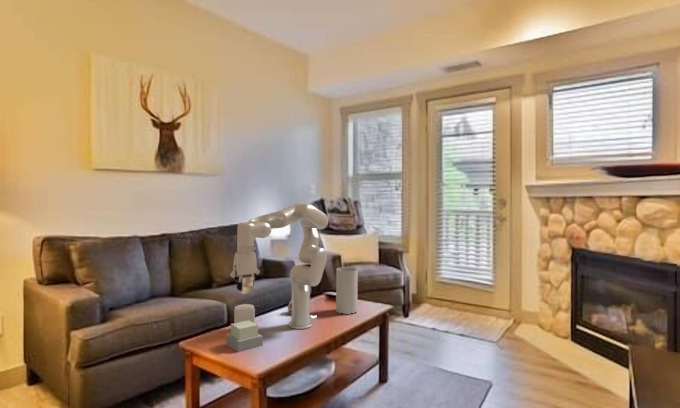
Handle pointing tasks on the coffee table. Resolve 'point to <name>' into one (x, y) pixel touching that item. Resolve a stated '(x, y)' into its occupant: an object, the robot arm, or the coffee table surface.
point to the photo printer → (244, 313)
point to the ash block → (246, 285)
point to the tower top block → (244, 330)
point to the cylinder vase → (346, 290)
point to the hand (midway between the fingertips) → (245, 289)
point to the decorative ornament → (290, 307)
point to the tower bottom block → (244, 342)
